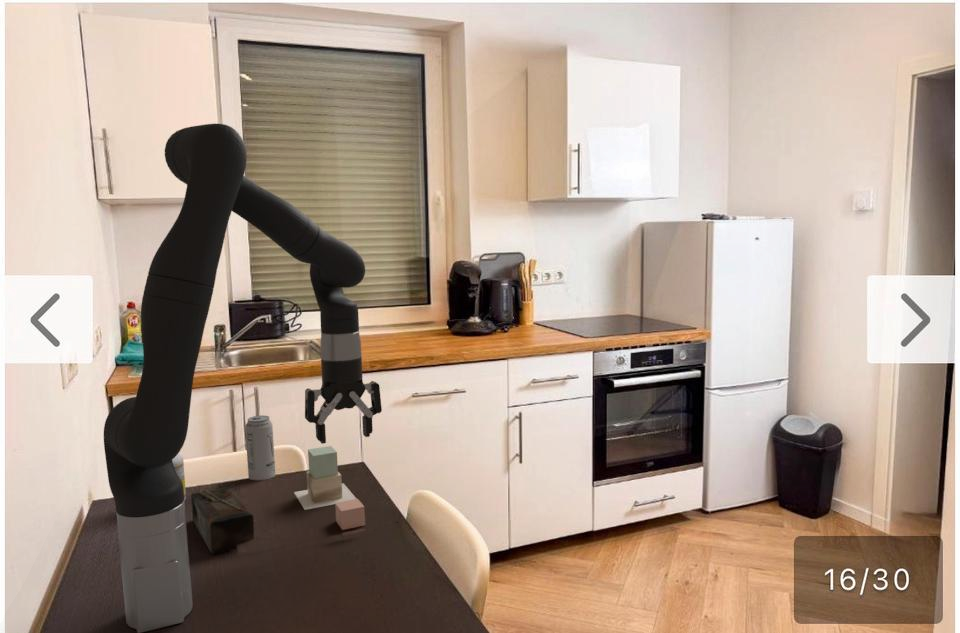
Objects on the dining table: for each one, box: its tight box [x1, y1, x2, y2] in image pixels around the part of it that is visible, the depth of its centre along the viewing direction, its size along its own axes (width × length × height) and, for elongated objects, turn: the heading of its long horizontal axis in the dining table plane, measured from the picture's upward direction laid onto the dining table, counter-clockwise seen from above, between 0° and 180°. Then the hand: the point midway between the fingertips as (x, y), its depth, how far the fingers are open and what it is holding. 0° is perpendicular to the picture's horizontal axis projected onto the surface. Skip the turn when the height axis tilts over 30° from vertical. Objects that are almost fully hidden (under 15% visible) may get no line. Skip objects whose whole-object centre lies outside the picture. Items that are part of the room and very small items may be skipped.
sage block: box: [307, 445, 339, 479], centre depth 146 cm, size 5×5×5 cm
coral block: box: [334, 498, 366, 537], centre depth 133 cm, size 4×4×5 cm
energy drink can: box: [245, 415, 276, 481], centre depth 160 cm, size 6×6×15 cm
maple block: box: [306, 470, 343, 503], centre depth 147 cm, size 6×6×5 cm
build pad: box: [293, 483, 357, 511], centre depth 147 cm, size 11×11×1 cm
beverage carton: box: [190, 486, 255, 555], centre depth 133 cm, size 8×19×7 cm, turn 33°
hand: (345, 439), depth 131 cm, fingers open, 8 cm apart
